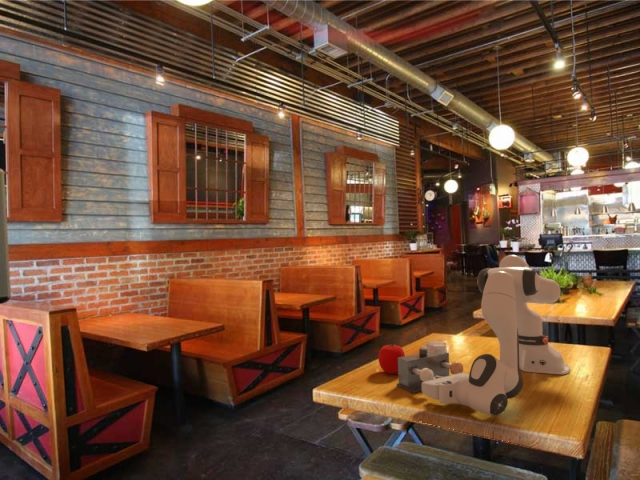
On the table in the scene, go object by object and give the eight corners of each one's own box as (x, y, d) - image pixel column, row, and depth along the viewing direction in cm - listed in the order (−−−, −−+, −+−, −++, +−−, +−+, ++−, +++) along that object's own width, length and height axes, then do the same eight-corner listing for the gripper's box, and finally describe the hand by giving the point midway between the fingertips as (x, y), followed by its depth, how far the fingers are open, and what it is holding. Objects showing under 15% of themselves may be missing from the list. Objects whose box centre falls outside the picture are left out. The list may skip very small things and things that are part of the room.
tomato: (411, 374, 185) (410, 345, 185) (388, 379, 180) (387, 348, 180) (395, 367, 196) (394, 339, 196) (373, 371, 192) (372, 342, 192)
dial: (428, 354, 175) (428, 345, 175) (425, 356, 172) (425, 347, 172) (421, 353, 177) (420, 345, 177) (418, 355, 174) (417, 346, 174)
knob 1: (433, 381, 162) (433, 368, 162) (423, 384, 160) (422, 370, 160) (417, 374, 170) (417, 362, 170) (407, 377, 168) (406, 364, 168)
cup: (448, 374, 183) (447, 346, 183) (426, 374, 185) (425, 346, 185) (446, 368, 192) (445, 341, 192) (425, 367, 194) (424, 340, 194)
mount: (458, 382, 173) (457, 354, 173) (413, 393, 163) (412, 364, 163) (441, 375, 182) (440, 349, 182) (396, 385, 172) (395, 358, 172)
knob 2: (463, 374, 169) (463, 361, 169) (453, 376, 167) (453, 363, 167) (446, 368, 177) (446, 356, 177) (437, 370, 175) (436, 358, 175)
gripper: (483, 374, 151) (454, 364, 164) (438, 385, 142) (411, 374, 154) (483, 392, 151) (454, 381, 164) (438, 405, 142) (411, 392, 154)
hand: (433, 378), depth 159 cm, fingers closed
